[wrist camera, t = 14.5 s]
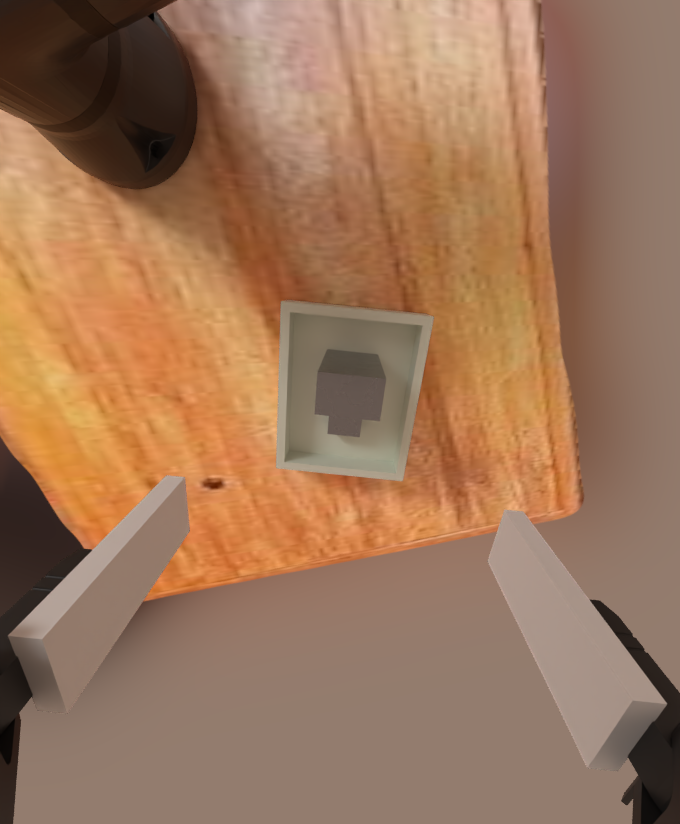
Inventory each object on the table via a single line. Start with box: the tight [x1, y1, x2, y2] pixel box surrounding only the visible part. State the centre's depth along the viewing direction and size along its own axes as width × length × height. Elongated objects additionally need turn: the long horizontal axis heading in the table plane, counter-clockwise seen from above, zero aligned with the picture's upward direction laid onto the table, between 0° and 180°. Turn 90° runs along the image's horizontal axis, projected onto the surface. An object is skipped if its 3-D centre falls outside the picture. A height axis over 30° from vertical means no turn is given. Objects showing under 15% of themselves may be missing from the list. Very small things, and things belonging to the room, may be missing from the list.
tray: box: [276, 300, 434, 481], centre depth 40 cm, size 20×16×4 cm
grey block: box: [314, 349, 386, 437], centre depth 36 cm, size 10×6×11 cm, turn 175°
